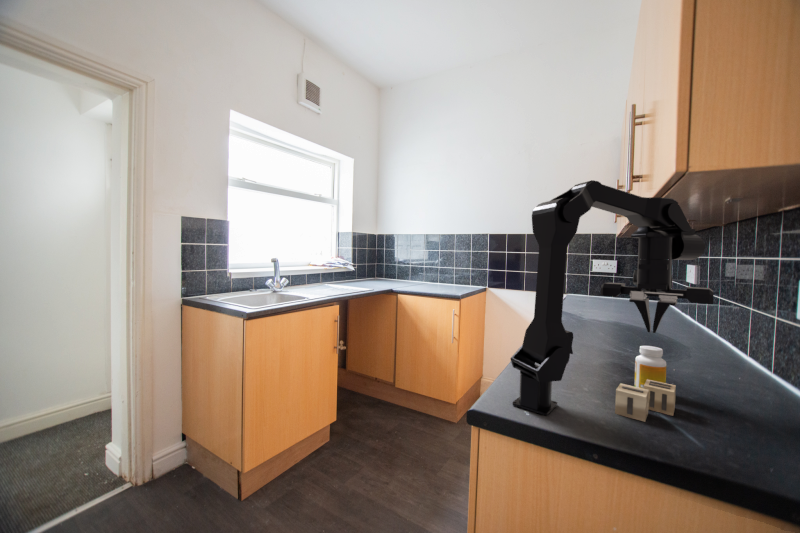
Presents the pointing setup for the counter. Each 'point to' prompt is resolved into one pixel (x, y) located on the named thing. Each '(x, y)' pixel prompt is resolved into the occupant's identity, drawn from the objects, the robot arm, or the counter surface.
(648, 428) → the counter surface
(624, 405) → the oak block one
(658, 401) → the birch block two
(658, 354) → the supplement bottle
